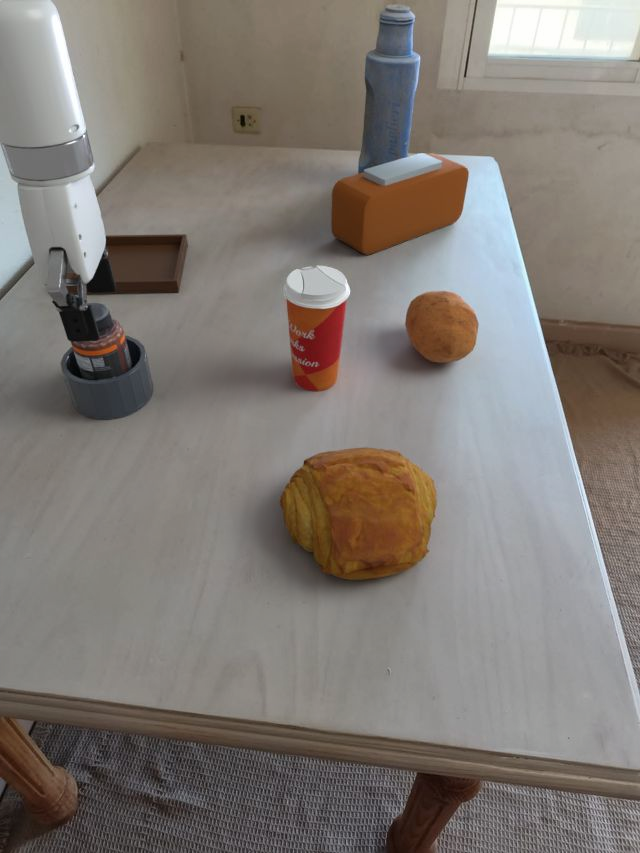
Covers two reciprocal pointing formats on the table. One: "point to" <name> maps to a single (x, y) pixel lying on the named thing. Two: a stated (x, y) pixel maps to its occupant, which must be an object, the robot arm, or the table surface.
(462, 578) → the table surface
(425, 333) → the potato
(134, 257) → the walnut tray
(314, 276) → the paper cup
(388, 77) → the bottle
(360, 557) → the croissant
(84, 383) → the grey cup
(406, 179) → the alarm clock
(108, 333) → the supplement bottle
